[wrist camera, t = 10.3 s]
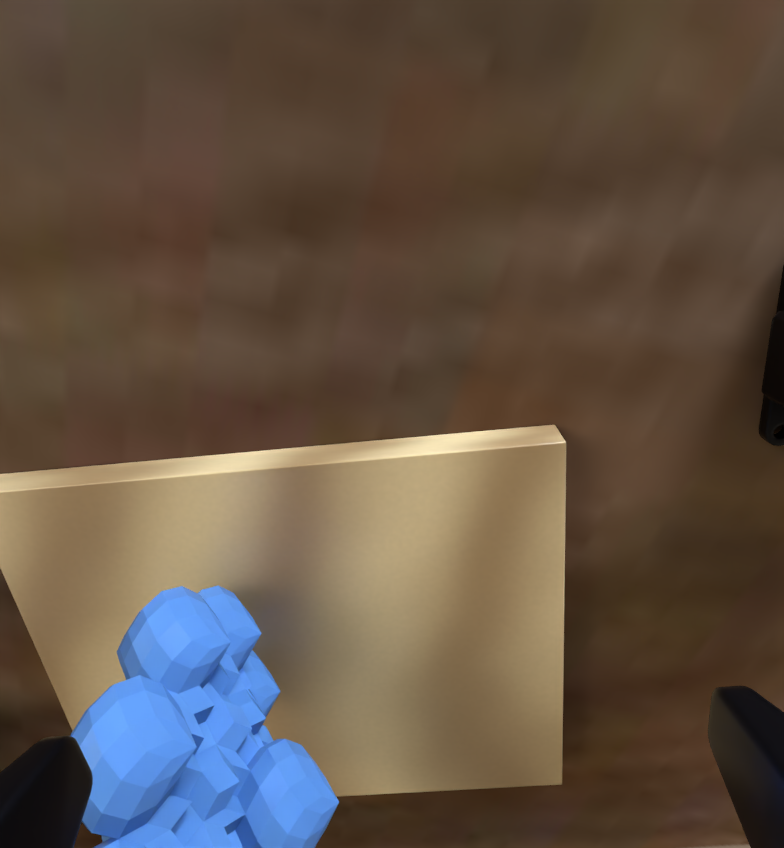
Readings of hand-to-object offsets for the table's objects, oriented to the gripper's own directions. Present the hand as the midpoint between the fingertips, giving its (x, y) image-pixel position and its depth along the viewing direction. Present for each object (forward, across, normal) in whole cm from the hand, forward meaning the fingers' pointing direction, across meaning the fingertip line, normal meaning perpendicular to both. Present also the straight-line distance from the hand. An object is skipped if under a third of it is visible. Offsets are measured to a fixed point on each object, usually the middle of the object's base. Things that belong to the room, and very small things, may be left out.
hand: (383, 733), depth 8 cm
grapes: (+11, +6, +8) cm, 15 cm away
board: (+12, +5, +9) cm, 16 cm away
